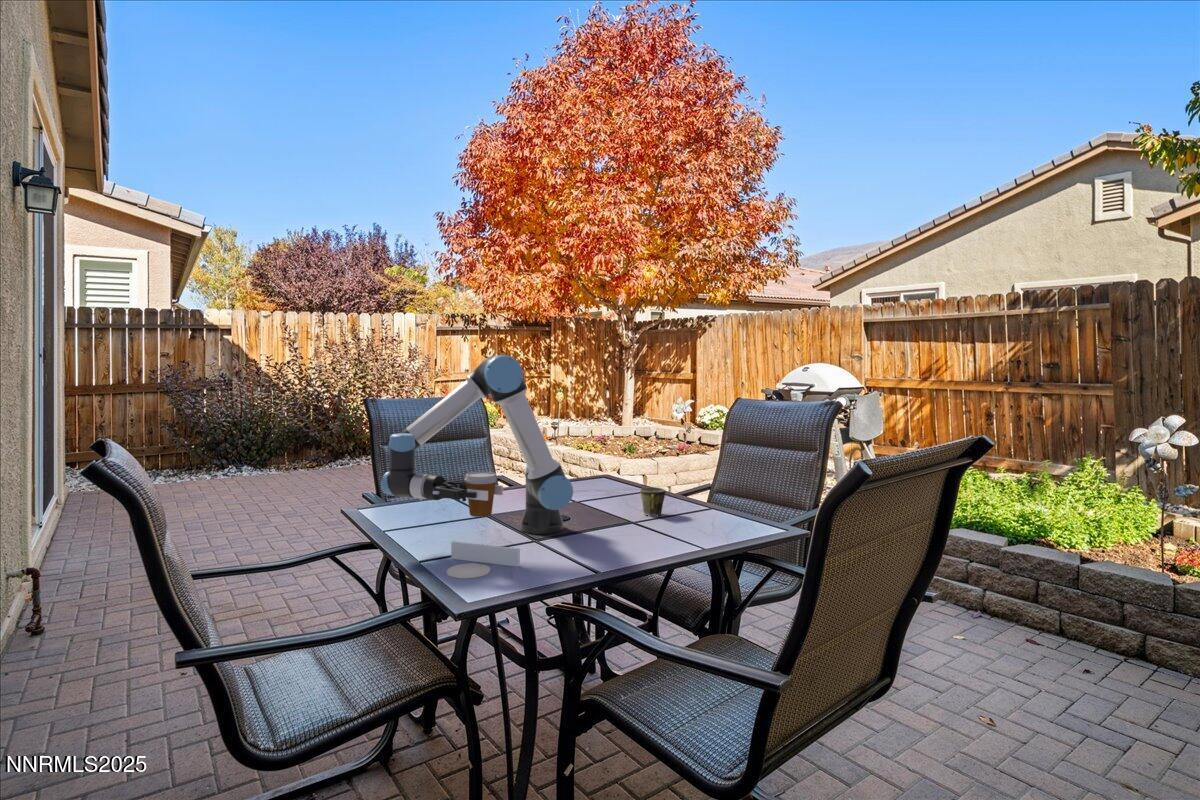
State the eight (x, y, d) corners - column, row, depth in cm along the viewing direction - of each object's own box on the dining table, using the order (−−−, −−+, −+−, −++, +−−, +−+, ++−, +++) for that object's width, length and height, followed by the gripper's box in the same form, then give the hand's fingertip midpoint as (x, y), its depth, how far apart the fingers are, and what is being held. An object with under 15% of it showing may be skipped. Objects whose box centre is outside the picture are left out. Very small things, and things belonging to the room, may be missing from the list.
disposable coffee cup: (501, 516, 191) (501, 475, 190) (469, 519, 186) (470, 478, 186) (490, 509, 199) (491, 470, 199) (460, 512, 195) (460, 472, 194)
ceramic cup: (639, 511, 260) (639, 486, 259) (664, 512, 259) (664, 487, 259) (640, 519, 247) (640, 493, 246) (666, 520, 246) (666, 493, 246)
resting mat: (494, 565, 189) (494, 564, 189) (483, 579, 177) (483, 577, 177) (454, 564, 190) (454, 562, 190) (440, 577, 178) (440, 576, 178)
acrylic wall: (451, 558, 195) (451, 542, 195) (453, 557, 197) (453, 541, 196) (518, 566, 188) (518, 549, 188) (519, 565, 189) (519, 548, 189)
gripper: (448, 493, 209) (511, 499, 201) (407, 505, 189) (476, 513, 181) (448, 469, 208) (511, 474, 201) (407, 480, 189) (476, 486, 181)
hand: (495, 493), depth 191 cm, fingers closed on disposable coffee cup, 8 cm apart
